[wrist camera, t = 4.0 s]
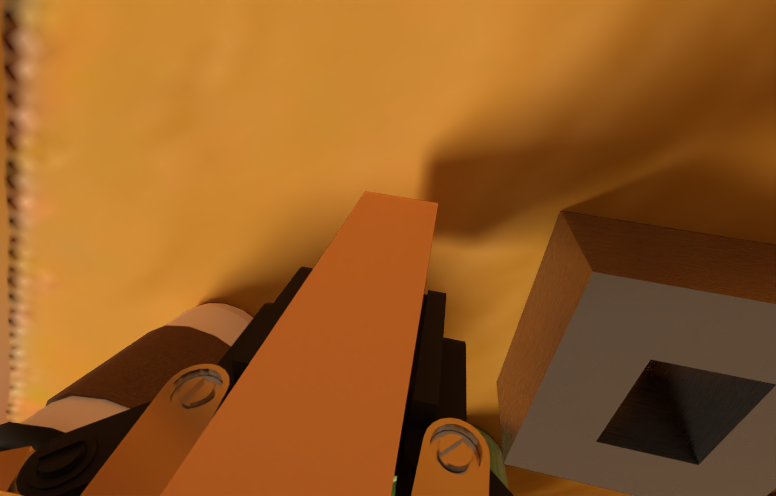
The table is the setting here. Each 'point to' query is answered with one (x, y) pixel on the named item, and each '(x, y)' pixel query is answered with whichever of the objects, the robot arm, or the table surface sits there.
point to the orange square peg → (327, 371)
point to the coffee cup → (132, 374)
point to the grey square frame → (645, 362)
